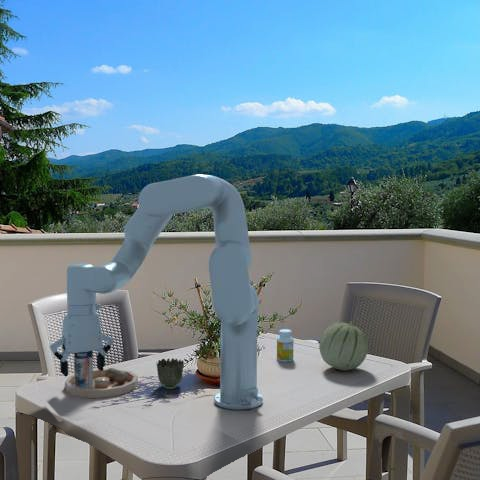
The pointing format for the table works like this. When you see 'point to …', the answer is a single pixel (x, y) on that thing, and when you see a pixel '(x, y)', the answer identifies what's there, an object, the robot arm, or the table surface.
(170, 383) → the cup
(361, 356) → the cantaloupe
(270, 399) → the table surface
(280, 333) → the supplement bottle
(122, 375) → the bead
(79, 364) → the beer can
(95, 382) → the saucer
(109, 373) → the bead
